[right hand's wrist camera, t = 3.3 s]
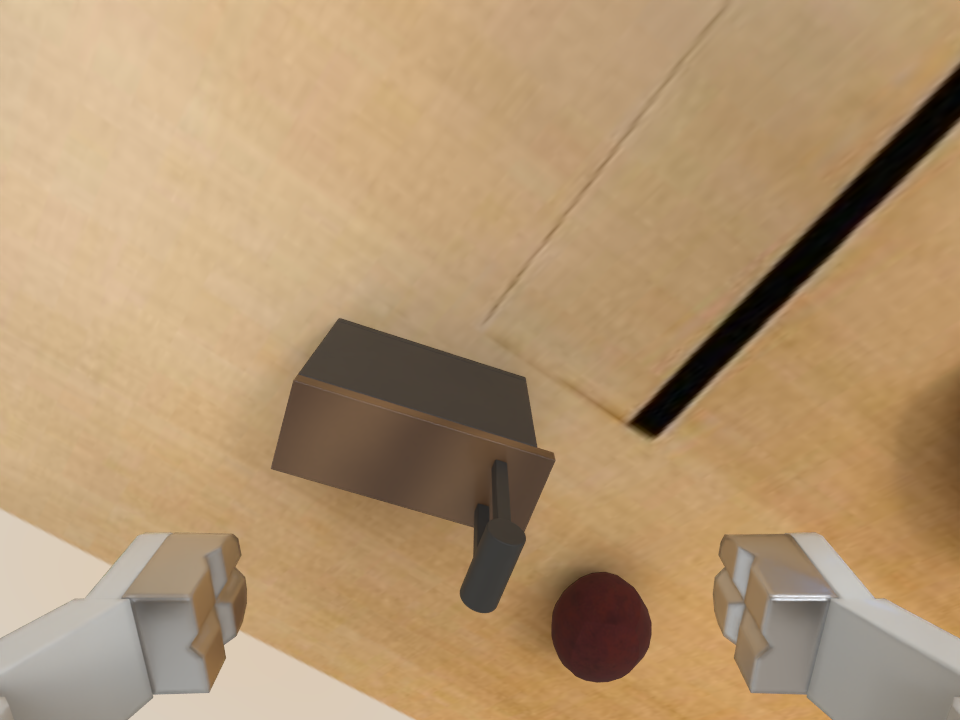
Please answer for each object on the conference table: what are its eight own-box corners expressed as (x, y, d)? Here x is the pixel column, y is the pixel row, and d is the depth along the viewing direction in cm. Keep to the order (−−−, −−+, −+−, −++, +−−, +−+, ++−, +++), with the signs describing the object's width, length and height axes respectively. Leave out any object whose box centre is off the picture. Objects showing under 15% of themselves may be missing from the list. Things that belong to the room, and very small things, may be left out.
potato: (540, 626, 51) (548, 700, 45) (556, 548, 49) (567, 614, 42) (628, 635, 52) (650, 710, 45) (649, 558, 49) (675, 625, 42)
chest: (525, 377, 44) (537, 446, 34) (499, 443, 46) (503, 527, 36) (339, 317, 42) (298, 373, 33) (319, 388, 44) (275, 460, 35)
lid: (553, 452, 34) (574, 546, 27) (519, 531, 36) (529, 641, 29) (297, 373, 33) (241, 450, 25) (275, 461, 35) (216, 557, 27)
